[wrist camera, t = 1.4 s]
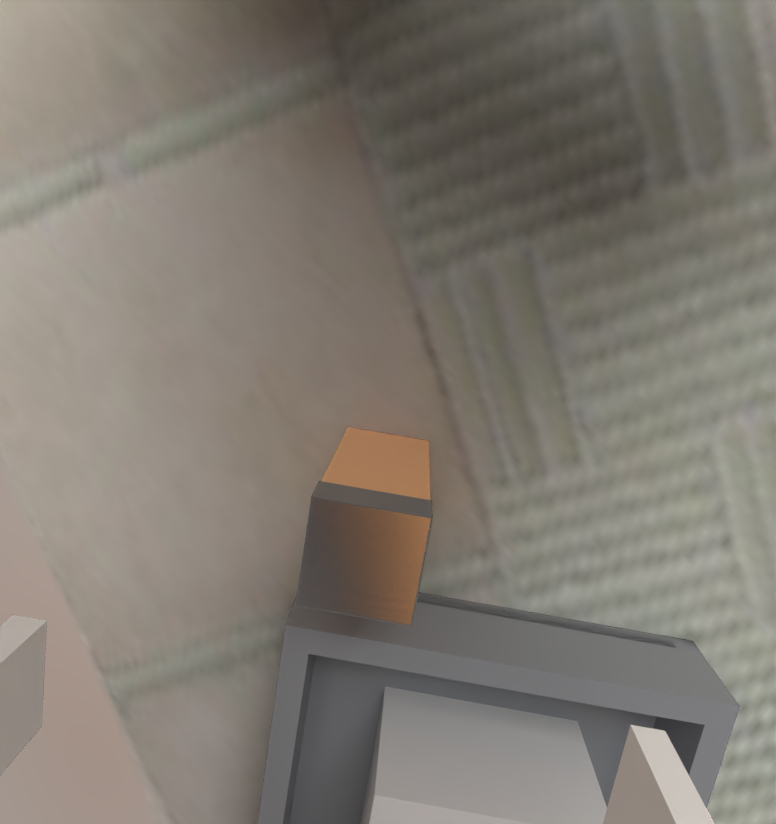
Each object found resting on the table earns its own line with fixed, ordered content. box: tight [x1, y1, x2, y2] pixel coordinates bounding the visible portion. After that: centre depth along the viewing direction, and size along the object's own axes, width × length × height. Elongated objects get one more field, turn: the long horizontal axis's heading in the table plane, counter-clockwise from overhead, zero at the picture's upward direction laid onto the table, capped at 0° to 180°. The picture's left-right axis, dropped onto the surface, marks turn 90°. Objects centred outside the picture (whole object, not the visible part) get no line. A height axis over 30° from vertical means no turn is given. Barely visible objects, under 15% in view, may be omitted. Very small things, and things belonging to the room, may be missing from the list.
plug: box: [296, 427, 433, 627], centre depth 27 cm, size 4×4×10 cm
